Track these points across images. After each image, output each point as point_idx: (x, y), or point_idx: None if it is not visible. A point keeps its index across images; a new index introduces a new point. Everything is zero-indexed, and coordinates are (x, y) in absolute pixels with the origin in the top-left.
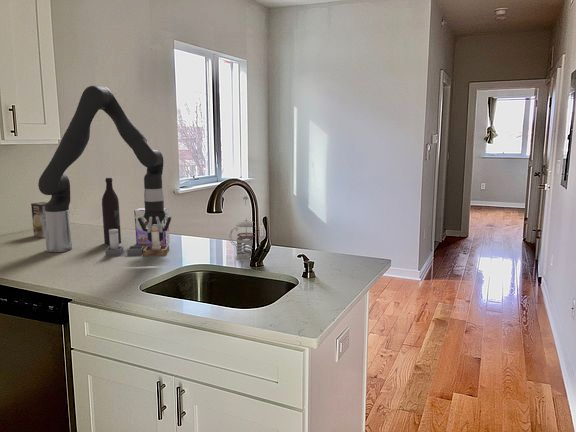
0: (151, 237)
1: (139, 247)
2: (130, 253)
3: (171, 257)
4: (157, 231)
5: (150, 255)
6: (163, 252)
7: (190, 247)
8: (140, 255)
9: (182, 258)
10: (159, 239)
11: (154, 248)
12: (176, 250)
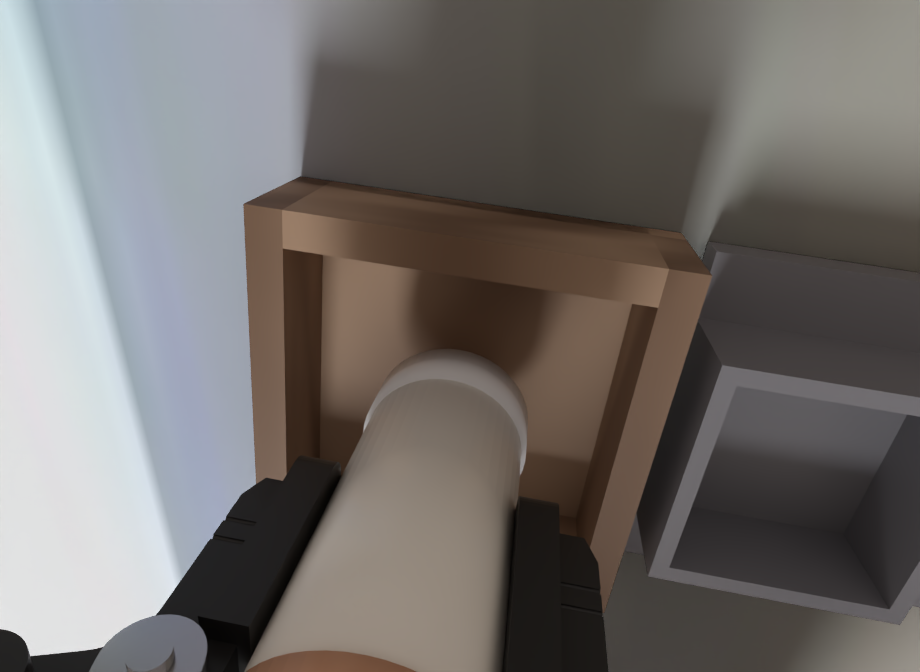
0: (508, 580)
1: (730, 561)
2: (917, 362)
3: (218, 132)
4: (272, 663)
5: (556, 223)
6: (316, 198)
7: (93, 581)
8: (732, 273)
9: (25, 9)
10: (325, 484)
11: (475, 368)
12: (224, 506)
